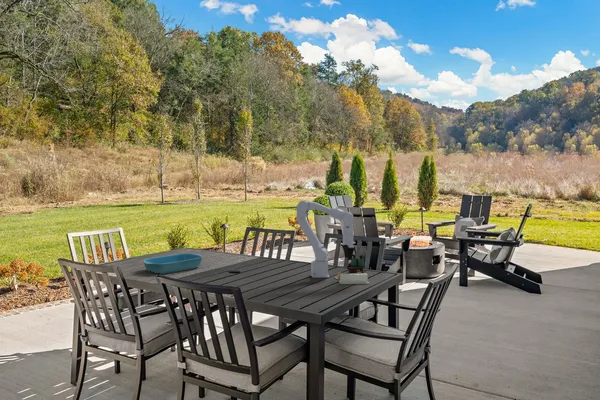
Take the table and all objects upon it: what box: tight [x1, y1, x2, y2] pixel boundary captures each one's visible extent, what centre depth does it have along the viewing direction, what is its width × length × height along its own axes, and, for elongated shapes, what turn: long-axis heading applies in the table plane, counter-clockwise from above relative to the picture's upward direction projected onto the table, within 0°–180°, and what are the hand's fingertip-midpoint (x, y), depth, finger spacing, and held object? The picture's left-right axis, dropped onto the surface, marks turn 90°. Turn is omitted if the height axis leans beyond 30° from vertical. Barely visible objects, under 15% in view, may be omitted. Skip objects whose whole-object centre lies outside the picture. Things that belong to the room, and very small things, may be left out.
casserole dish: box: [142, 252, 203, 275], centre depth 261 cm, size 37×22×7 cm, turn 139°
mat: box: [338, 280, 370, 285], centre depth 227 cm, size 15×6×1 cm, turn 95°
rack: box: [334, 271, 362, 280], centre depth 237 cm, size 16×5×3 cm, turn 95°
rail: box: [339, 272, 369, 282], centre depth 227 cm, size 14×3×4 cm, turn 94°
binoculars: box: [346, 253, 366, 274], centre depth 250 cm, size 9×11×10 cm
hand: (348, 258), depth 238 cm, fingers open, 7 cm apart
